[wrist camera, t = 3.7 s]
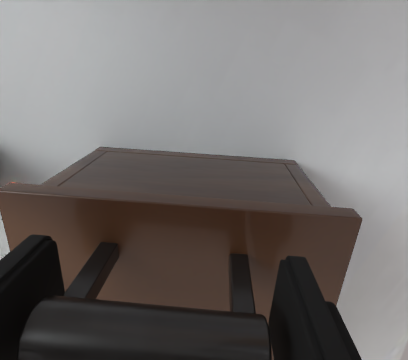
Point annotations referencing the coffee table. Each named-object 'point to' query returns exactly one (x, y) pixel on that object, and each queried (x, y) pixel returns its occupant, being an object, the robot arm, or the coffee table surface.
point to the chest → (191, 176)
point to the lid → (168, 270)
